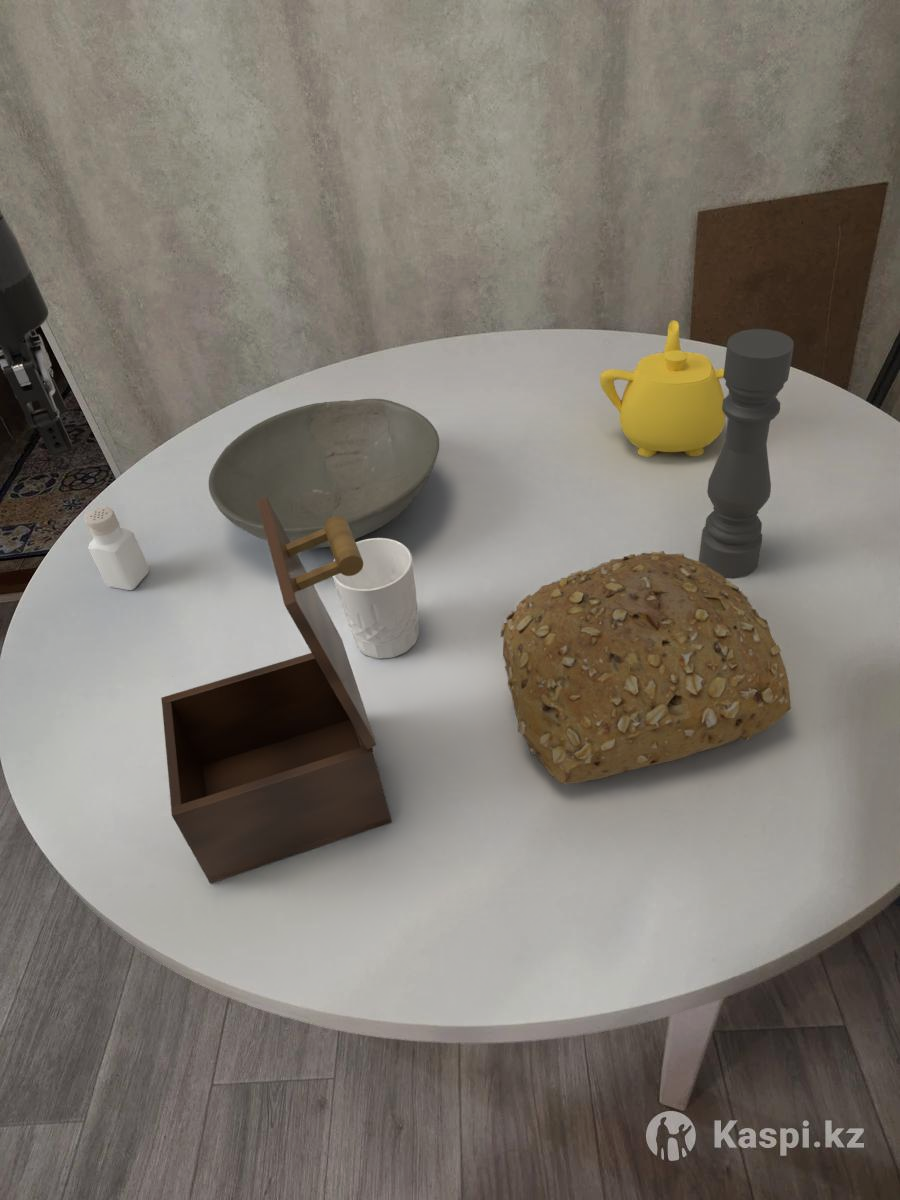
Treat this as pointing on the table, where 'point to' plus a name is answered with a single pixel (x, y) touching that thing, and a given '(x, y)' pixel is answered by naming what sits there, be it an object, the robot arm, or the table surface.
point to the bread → (639, 666)
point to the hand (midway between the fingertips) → (59, 432)
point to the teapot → (669, 400)
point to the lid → (319, 603)
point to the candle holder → (744, 450)
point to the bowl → (326, 467)
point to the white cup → (381, 599)
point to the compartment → (267, 768)
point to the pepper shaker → (115, 550)
